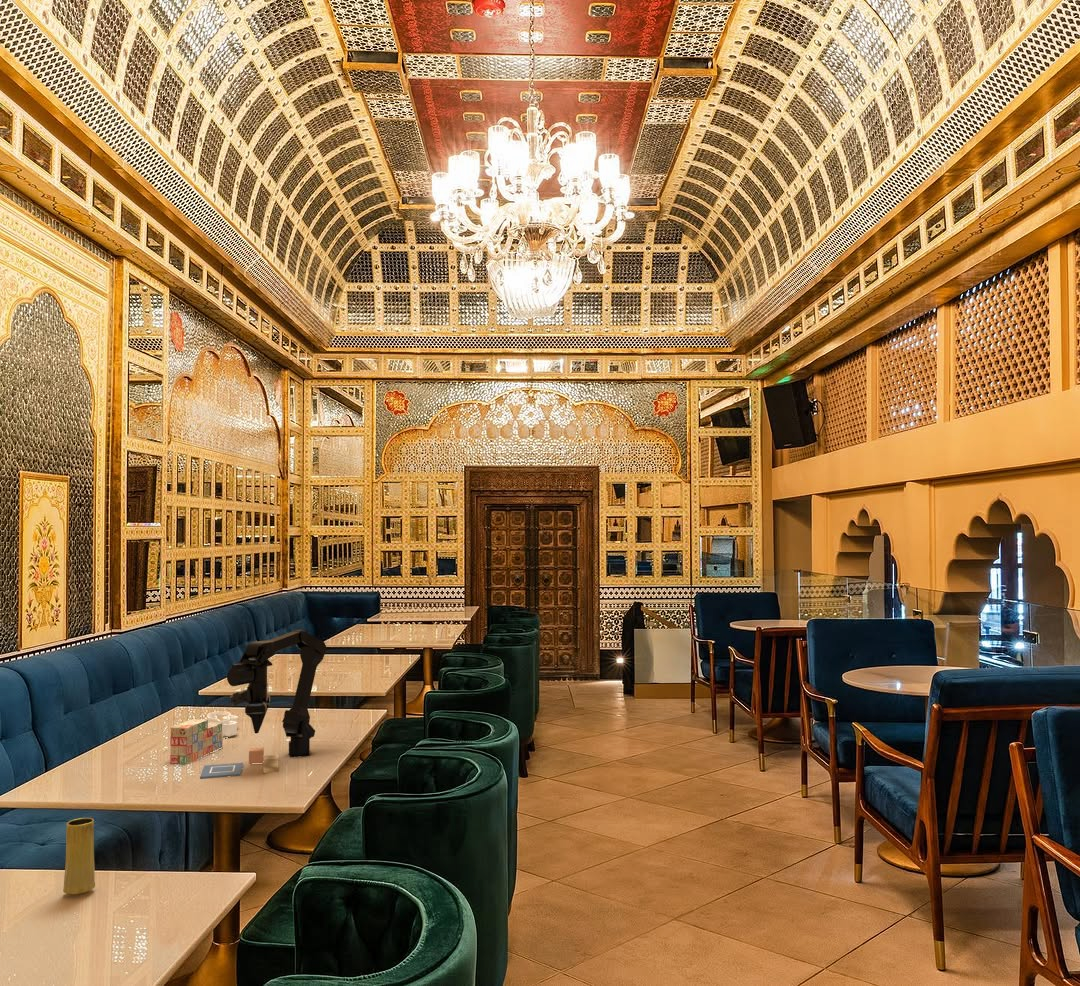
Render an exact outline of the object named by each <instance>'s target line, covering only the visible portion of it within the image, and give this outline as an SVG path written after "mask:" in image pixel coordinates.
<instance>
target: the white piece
mask: <svg viewBox="0 0 1080 986" xmlns="http://www.w3.org/2000/svg"><path fill="white" fill-rule="evenodd" d="M223 715H224V716H223ZM225 715H226V716H225ZM218 716H223V717H222V720H220V718H218ZM206 720H208V722H209V723H222V739H225V738H228V737H230V738H231V737H232V736H235V735H237V734H238V728H239V716H238V715H234V714H231V712H230V711H216V710H215V711H211V712H208V713H207V716H206ZM228 739H229V738H228Z"/></svg>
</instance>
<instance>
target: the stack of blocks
mask: <svg viewBox="0 0 1080 986" xmlns="http://www.w3.org/2000/svg"><path fill="white" fill-rule="evenodd" d="M169 742H170V743H169V744H170V745H169V746H170V751H169V752H170V755H169V756H170V758H169V759H170V760H169V763H170V764H171V765H185V764H187V765H188V764H191V762H192V763H194V762H196V761H198V760H197V759H199V758H201V757H203V756H204V755H206V754H208V753H210V752H213V751H215V750H217V749H219V748H221V747H222V748H223V740H222V723H214V722H211V723H209V722H208V720H207V719H189V720H186V721H184V722H182V723H178V724H177V725H173V726H171V727H170V738H169ZM203 758H204V757H203ZM201 759H202V758H201ZM195 760H196V761H195ZM199 760H200V759H199ZM193 761H194V762H193Z"/></svg>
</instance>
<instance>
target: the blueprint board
mask: <svg viewBox="0 0 1080 986" xmlns="http://www.w3.org/2000/svg"><path fill="white" fill-rule="evenodd" d="M243 763H244V762H234V763H221V764H220V763H218V764H207V765H206V764H205V765H204V766H203V768H202V771H201V773H200V776H199V780H200V779H201V780H204V779H216V778H215V777H217V778H228V776H231V777H240V775H241V776H242V773H243V769H242V768H244V764H243ZM241 772H242V773H241Z"/></svg>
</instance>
